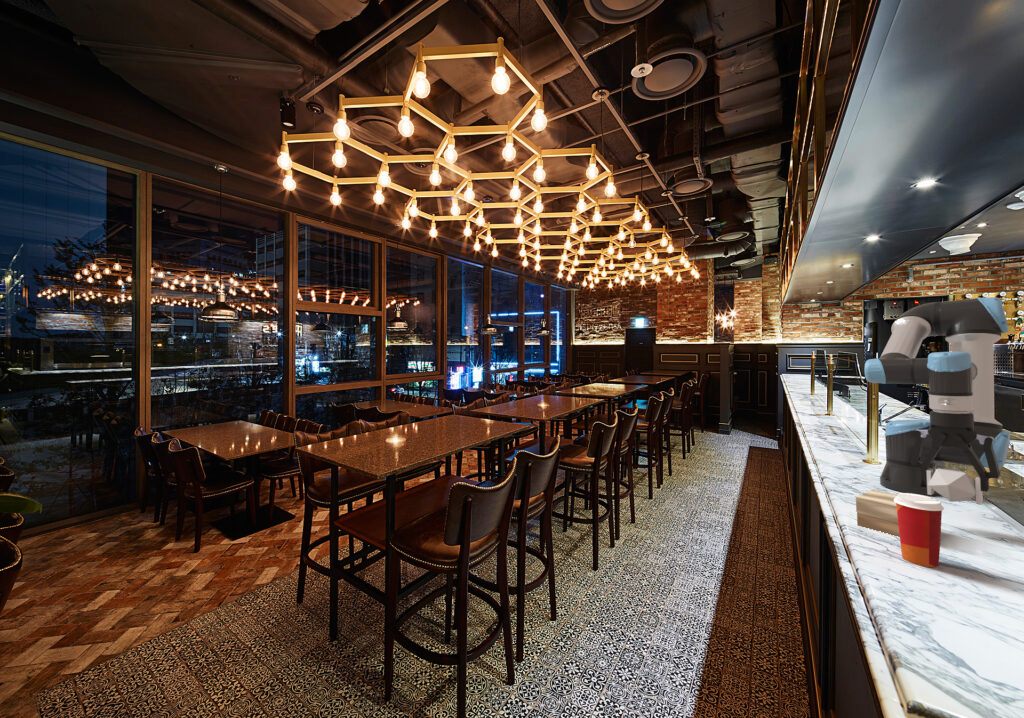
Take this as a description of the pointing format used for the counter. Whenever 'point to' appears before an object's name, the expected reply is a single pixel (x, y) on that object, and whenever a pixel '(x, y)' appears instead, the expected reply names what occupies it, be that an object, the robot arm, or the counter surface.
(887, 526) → the tower base slab
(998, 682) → the counter surface
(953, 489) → the die
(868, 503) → the tower top slab
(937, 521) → the paper cup
